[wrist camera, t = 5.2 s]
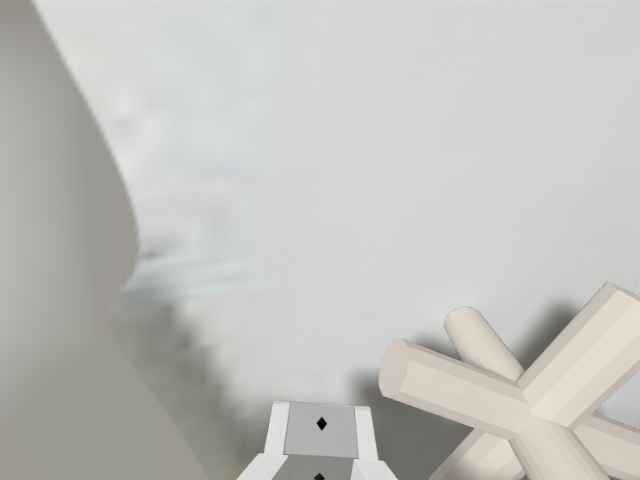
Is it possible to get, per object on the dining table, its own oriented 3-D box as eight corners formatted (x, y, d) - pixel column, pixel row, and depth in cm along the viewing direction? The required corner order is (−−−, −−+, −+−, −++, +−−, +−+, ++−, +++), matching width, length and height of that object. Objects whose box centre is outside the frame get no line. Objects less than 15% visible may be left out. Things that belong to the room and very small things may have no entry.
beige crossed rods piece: (620, 277, 14) (1216, 602, 5) (489, 420, 17) (677, 770, 8) (427, 187, 13) (718, 390, 3) (326, 362, 16) (327, 702, 7)
